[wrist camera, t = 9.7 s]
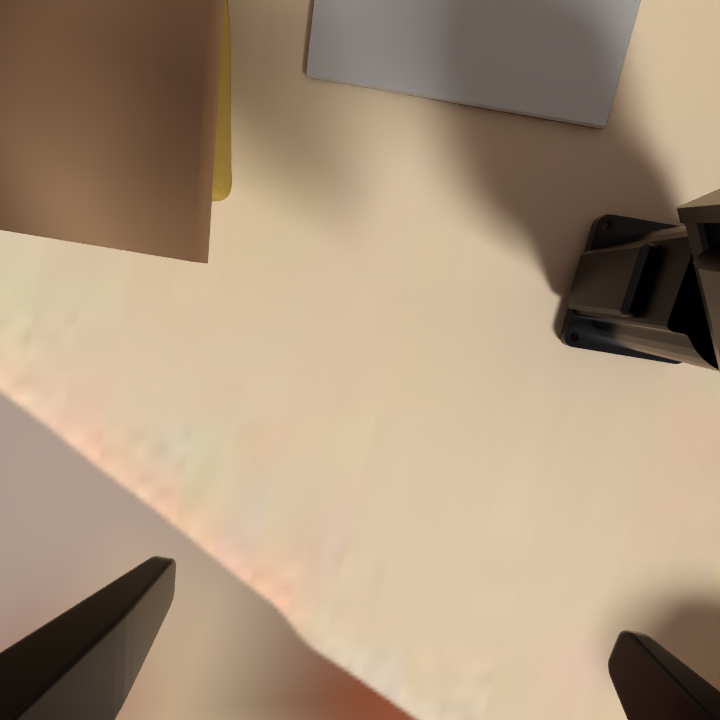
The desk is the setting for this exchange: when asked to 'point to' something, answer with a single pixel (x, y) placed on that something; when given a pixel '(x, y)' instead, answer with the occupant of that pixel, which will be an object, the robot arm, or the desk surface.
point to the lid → (110, 122)
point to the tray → (480, 52)
